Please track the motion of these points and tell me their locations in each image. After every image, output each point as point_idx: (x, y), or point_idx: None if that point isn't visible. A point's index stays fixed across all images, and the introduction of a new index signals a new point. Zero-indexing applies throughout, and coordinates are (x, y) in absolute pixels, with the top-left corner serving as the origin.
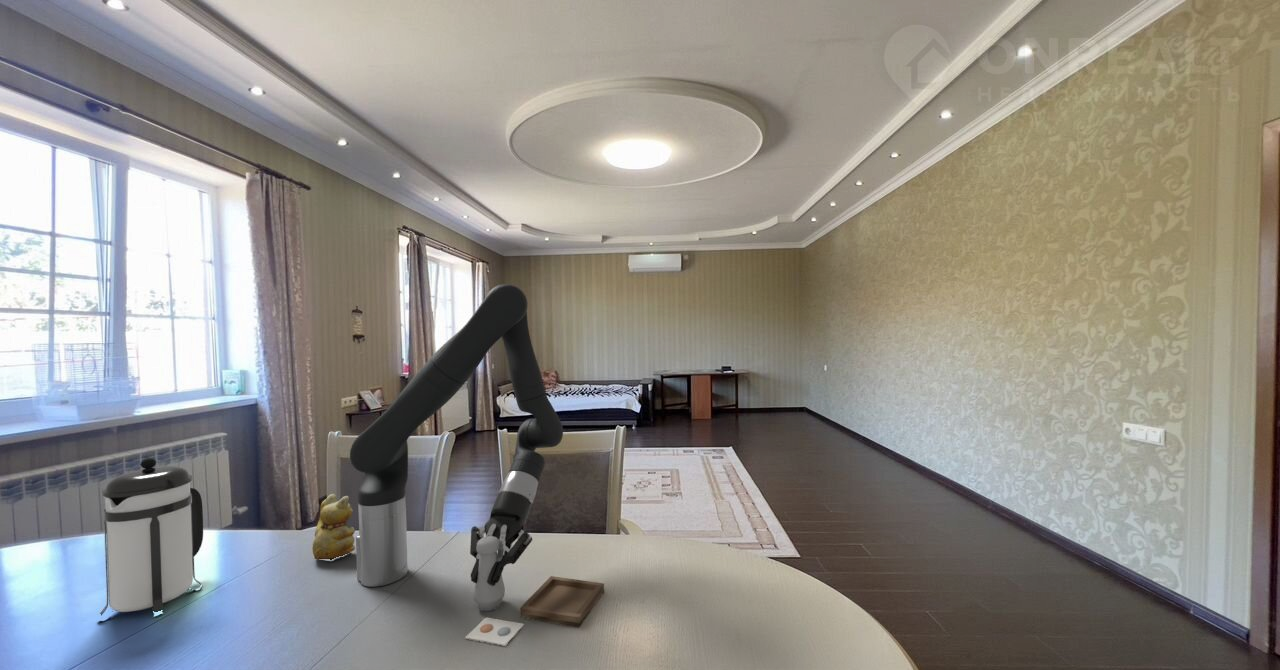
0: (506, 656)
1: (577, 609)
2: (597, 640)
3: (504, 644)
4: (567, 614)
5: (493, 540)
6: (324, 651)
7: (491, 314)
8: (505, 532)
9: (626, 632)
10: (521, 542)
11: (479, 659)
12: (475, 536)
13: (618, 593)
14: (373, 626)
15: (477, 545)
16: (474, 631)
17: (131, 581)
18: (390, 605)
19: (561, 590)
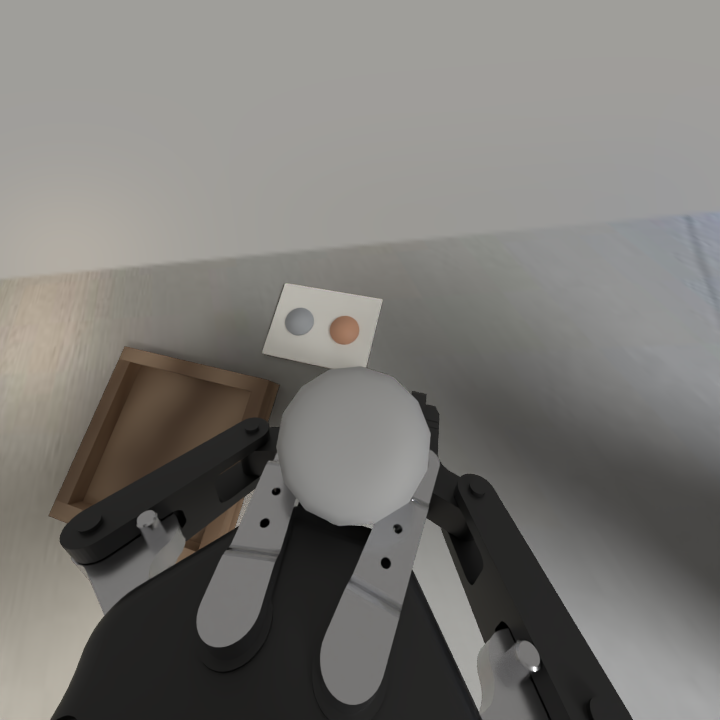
0: (276, 260)
1: (138, 403)
2: (112, 316)
3: (286, 283)
4: (149, 355)
5: (298, 422)
6: (707, 236)
7: None
8: (228, 550)
9: (57, 343)
10: (146, 476)
11: (325, 248)
12: (523, 605)
13: (44, 502)
14: (669, 332)
15: (406, 390)
16: (369, 319)
17: None
18: (716, 438)
19: None
